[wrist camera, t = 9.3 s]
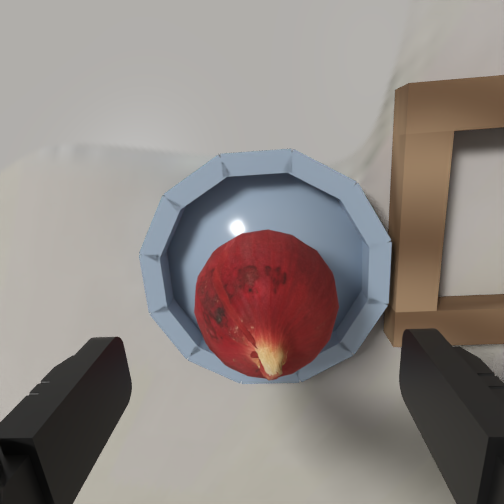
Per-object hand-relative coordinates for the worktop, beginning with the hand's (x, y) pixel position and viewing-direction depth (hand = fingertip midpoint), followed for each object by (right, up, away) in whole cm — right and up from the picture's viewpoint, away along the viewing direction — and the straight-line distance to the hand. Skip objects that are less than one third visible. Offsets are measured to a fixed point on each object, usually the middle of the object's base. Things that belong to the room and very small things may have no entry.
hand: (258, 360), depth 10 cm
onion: (0, +2, +8) cm, 8 cm away
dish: (0, +2, +9) cm, 9 cm away
